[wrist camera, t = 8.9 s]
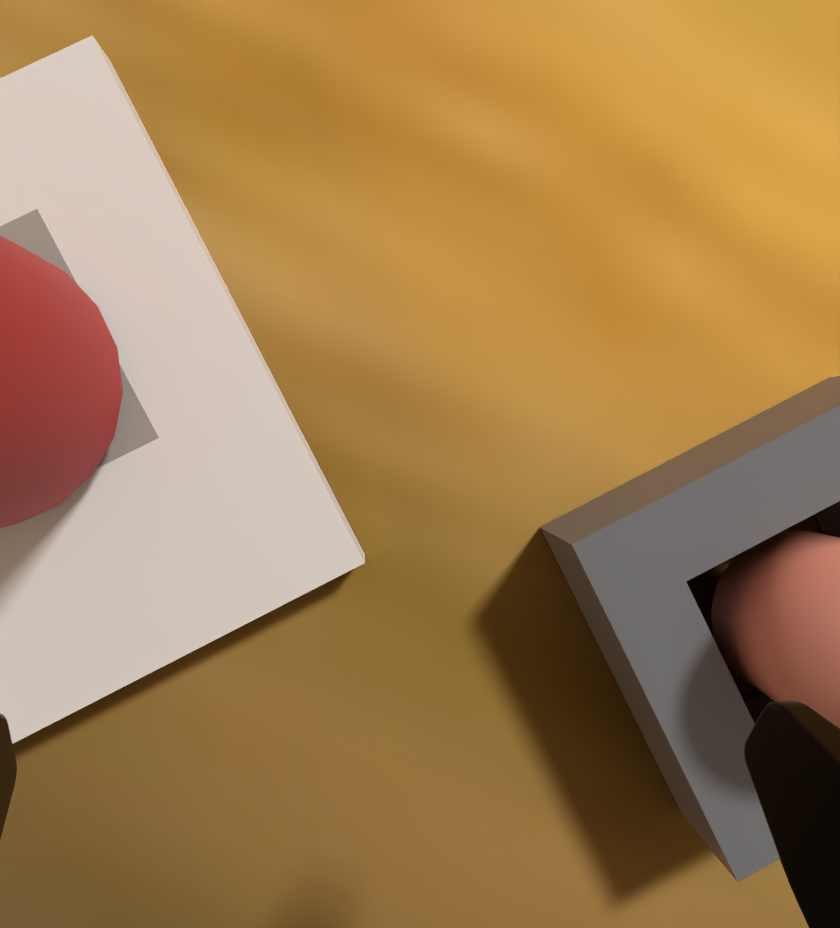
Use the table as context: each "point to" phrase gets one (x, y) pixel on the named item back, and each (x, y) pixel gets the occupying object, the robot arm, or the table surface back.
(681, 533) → the grey square frame
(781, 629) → the button
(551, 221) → the table surface
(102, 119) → the paper card
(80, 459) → the beer can
